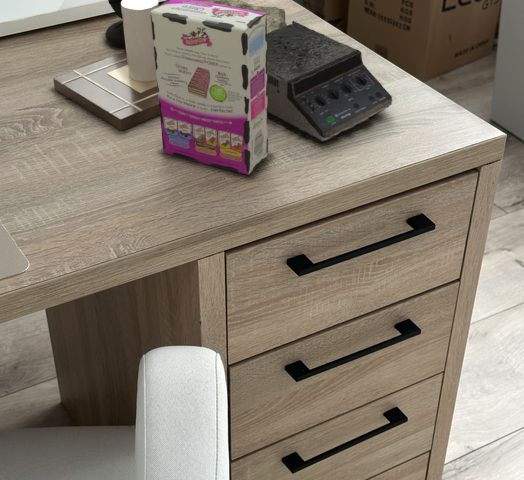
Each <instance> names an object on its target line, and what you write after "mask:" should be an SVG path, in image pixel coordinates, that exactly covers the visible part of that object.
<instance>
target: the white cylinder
mask: <svg viewBox="0 0 524 480" xmlns="http://www.w3.org/2000/svg"><path fill="white" fill-rule="evenodd" d="M158 6H160V3H159V0H122V1H121V9H122V18H123V19H122V20H123V27H124V36H125V45H126V49H125V51H126V54H127V64H128V73H129V77H130V78H131V79H133V80H136V81H140V82H149V81H154V80H157V77H156V66H155V55H154V45H153V34H152V24H151V14H150V12H151V11H152V10H154V9H155V8H156V7H158Z"/></svg>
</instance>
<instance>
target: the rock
mask: <svg viewBox="0 0 524 480" xmlns="http://www.w3.org/2000/svg"><path fill="white" fill-rule="evenodd" d="M212 3H215V4H220V5H226V6H231V7H236V8H242V9H247V10H251V11H257V12H262V13H267V16H266V20H267V33H269V32H272V31H275V30H277V29H281V28H282V27H284V26H287V25H288V24H287V22H286V11H285V9H284V8H280V7H279V6H265V5H264V6H263V5H255V4H253V3H248V2H246V1H243V0H214V1H212Z"/></svg>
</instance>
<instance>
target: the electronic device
mask: <svg viewBox="0 0 524 480" xmlns="http://www.w3.org/2000/svg"><path fill="white" fill-rule="evenodd" d="M362 54H363V53H362V52H361V51H360V50H359V49H358V48H354V47H352V46H350V45H349V44H346V43H342V42H340V41H338V40H336V39H334V38H331V37H329V36H328V35H325V34H324V33H321V32H319V31H316V30H315V29H312V28H309V27H308V26H306V25H303V24H301V23H300V22H297V21H294V20H293V21H292V22H291V23H290V24H287V26H284V27H282V28H281V29H277V30H275V31H272V32H269V33H267V109H268V110H267V114H268V119H270V120H272V121H275V122H278V123H279V124H280V125H281V126H283V127H284V128H286V129H287V130H289V131H293V132H296V133H297V134H299V136H300V137H307V138H309V139H311V140H314V141H316V142H317V143H324V142H327V143H328V142H329V141H331V140H332V139H334V138H338V137H342V136H344V135H348V134H351V133H353V132H355V131H357V130H358V129H360V128H362V127H363V126H365V125H366V124H367V123H368V120H369V119H370V118H371V117H374V116H375V114H379V113H381V112H382V111H384V110H386V109H388V108H389V107H390V106H392V105H393V104H392V103H393V96H392V95H391V93H389V92H388V91H387V90H386V89H385V87H384V86H383V84H382V83H380V81H379V80H378V79H377V77H375V76H374V75H373V73H372V72H371V71H370V70H369V69H368V68H367V67H366V65H365V64H364V62H363V57H362V56H363V55H362Z"/></svg>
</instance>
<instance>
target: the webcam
mask: <svg viewBox="0 0 524 480" xmlns="http://www.w3.org/2000/svg"><path fill="white" fill-rule="evenodd" d="M121 1H122V0H107V2H108V5H110V7H111V8H112V10H113V12H114V13H115V14H116V15H117V16H118V17H119V18H120V19H122V20H119V21H116V22H114V23H112V24H110V25H109V26H108V27H107V29H106V30H105V38H106V41H107V42H108V43H109V44H110V45H112V46H113V47H116V48H118V49H119V48H120V49H125V50H126V45H125V36H124V27H123V18H122V9H121Z"/></svg>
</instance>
